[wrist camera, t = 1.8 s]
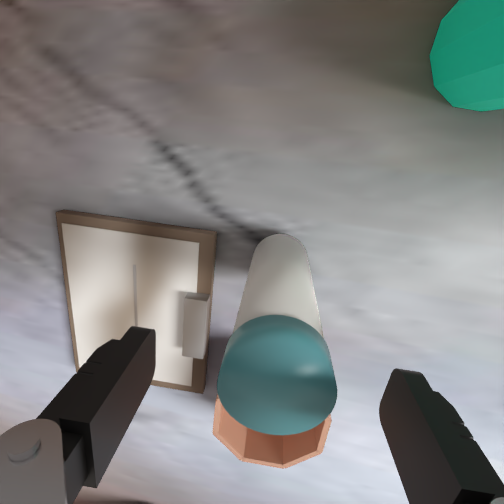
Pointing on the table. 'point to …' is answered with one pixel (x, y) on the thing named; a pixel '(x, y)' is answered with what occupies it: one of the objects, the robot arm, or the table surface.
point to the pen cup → (268, 441)
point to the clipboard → (140, 290)
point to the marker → (278, 346)
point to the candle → (471, 55)
